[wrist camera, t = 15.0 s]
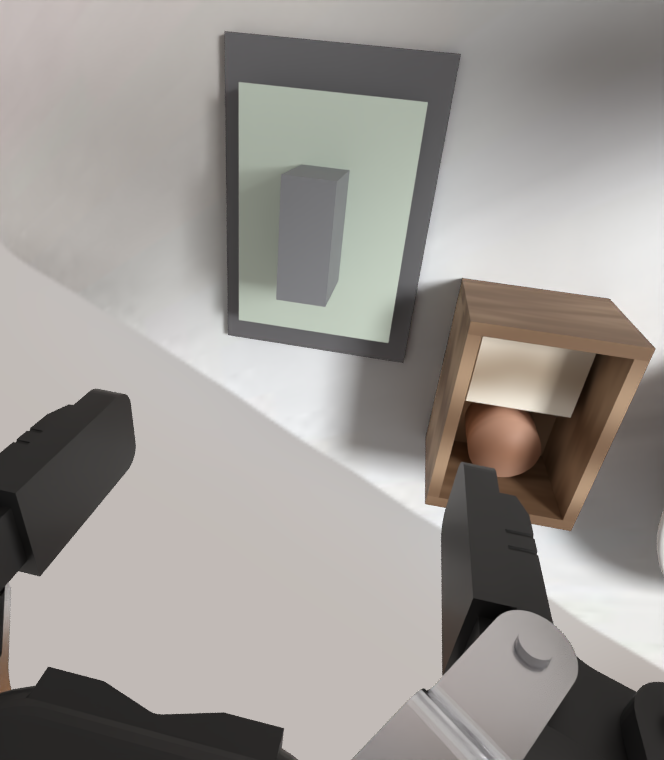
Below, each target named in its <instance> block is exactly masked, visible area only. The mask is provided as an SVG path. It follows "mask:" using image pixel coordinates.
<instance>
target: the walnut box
mask: <svg viewBox="0 0 664 760" xmlns="http://www.w3.org/2000/svg"><path fill="white" fill-rule="evenodd" d="M654 351H655V348H654V346H653V345H652V344H651V343H650V342H649V341H648V340H647V339H646V338H645V337H644V336H643V335H642V333H641V332H640V331H639V330H638V329H637V328H636V327H635V326H634V325H633V324H632V323H631V322H630V320H629V319H628V318H627V317H626V316H625V315H624V314H623V313H622V312H621V311H620V310H619V309H618V307H617V306H616V305H615V304H614V303H613V302H612V301H611V300H610V299H607V298H600V297H593V296H585V295H578V294H571V293H564V292H557V291H550V290H543V289H536V288H528V287H521V286H514V285H507V284H500V283H493V282H486V281H479V280H471V279H464V278H462V282H461V286H460V291H459V295H458V299H457V304H456V308H455V312H454V317H453V321H452V325H451V330H450V334H449V338H448V343H447V347H446V351H445V356H444V360H443V364H442V369H441V373H440V378H439V382H438V386H437V391H436V395H435V399H434V404H433V408H432V412H431V417H430V421H429V425H428V430H427V434H426V442H425V504H428V505H433V506H439V507H444V508H446V506H447V503H448V499H449V496H450V493H451V490H452V486H453V483H454V480H455V477H456V473H457V470H458V467H459V465H460V463H461V462H465V463H470V464H475V465H480V466H485V467H490V468H494V469H495V470H496V474H497V480H498V486H499V493H504V494H509V495H514V496H516V497H517V498H518V500H519V501H520V503H521V504H522V505H523V507H524V508H525V510H526V511H527V513H528V514H529V516H530V521H531V524H536V525H541V526H546V527H552V528H557V529H563V530H568V531H571V530H572V528H573V526H574V523H575V521H576V519H577V517H578V515H579V513H580V510H581V508H582V506H583V504H584V502H585V500H586V498H587V495H588V493H589V491H590V489H591V487H592V485H593V482H594V480H595V478H596V476H597V474H598V472H599V470H600V467H601V465H602V463H603V461H604V459H605V457H606V454H607V452H608V450H609V448H610V446H611V444H612V442H613V439H614V437H615V435H616V433H617V431H618V429H619V426H620V424H621V422H622V420H623V418H624V416H625V414H626V411H627V409H628V407H629V405H630V403H631V401H632V398H633V396H634V394H635V392H636V390H637V388H638V386H639V383H640V381H641V379H642V377H643V375H644V373H645V370H646V368H647V366H648V364H649V362H650V360H651V358H652V355H653V353H654Z"/></svg>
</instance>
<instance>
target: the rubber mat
mask: <svg viewBox="0 0 664 760" xmlns="http://www.w3.org/2000/svg"><path fill="white" fill-rule="evenodd" d="M460 55H461V54H454V53H444V52H433V51H423V50H413V49H402V48H392V47H382V46H371V45H361V44H351V43H340V42H330V41H320V40H309V39H299V38H289V37H278V36H268V35H258V34H247V33H237V32H227V31H225V108H226V188H227V268H228V335H231V336H238V337H244V338H250V339H257V340H263V341H269V342H276V343H282V344H288V345H294V346H301V347H307V348H313V349H320V350H326V351H332V352H339V353H345V354H351V355H357V356H364V357H370V358H376V359H383V360H389V361H395V362H402V363H403V362H404V357H405V351H406V346H407V340H408V335H409V330H410V324H411V319H412V313H413V308H414V303H415V297H416V292H417V287H418V281H419V276H420V270H421V265H422V260H423V254H424V249H425V243H426V238H427V233H428V227H429V222H430V216H431V211H432V206H433V200H434V195H435V189H436V184H437V179H438V173H439V168H440V163H441V157H442V152H443V146H444V141H445V136H446V130H447V125H448V119H449V114H450V109H451V103H452V98H453V92H454V87H455V82H456V76H457V71H458V66H459V60H460ZM239 82H243V83H253V84H262V85H272V86H281V87H290V88H300V89H309V90H318V91H328V92H337V93H346V94H356V95H365V96H374V97H384V98H393V99H403V100H412V101H421V102H428V105H427V111H426V117H425V123H424V130H423V136H422V142H421V148H420V154H419V160H418V166H417V172H416V178H415V184H414V190H413V196H412V202H411V208H410V214H409V221H408V227H407V233H406V239H405V245H404V251H403V257H402V263H401V269H400V275H399V281H398V287H397V293H396V299H395V305H394V312H393V318H392V324H391V330H390V336H389V342H388V343H384V342H378V341H372V340H365V339H359V338H352V337H346V336H339V335H333V334H327V333H320V332H314V331H307V330H301V329H294V328H288V327H281V326H275V325H269V324H262V323H256V322H249V321H243V320H239Z"/></svg>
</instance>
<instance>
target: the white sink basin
mask: <svg viewBox="0 0 664 760" xmlns="http://www.w3.org/2000/svg"><path fill="white" fill-rule="evenodd" d="M657 555H658V561H659V565H660V568H661V571H662V574H663V576H664V510H663V512H662V515H661V519H660V522H659V526H658V532H657Z"/></svg>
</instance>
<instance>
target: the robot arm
mask: <svg viewBox="0 0 664 760" xmlns="http://www.w3.org/2000/svg"><path fill="white" fill-rule="evenodd" d="M135 448H136V445H135V435H134V427H133V419H132V411H131V403H130V399H129V397H128V396H127V395H125V394H121V393H116V392H111V391H105V390H101V389H93V390H91V391H90V392H88V393H87V394H86V395H85V396H84V397H82V398H81V399H80V400H79V401H78V402H77V403H75V404H74V405H67V406H65V407H62V408H60V409H58V410H56V411H54V412H51V413H49V414H47V415H46V416H45V417H43V418H42V419H41V420H40V421H39V422H37V423H36V424H35V425H34V426H32V427H31V428H30V431H26V432H25V433H24V434H23V435H21V436H20V437H19V438H18V439H17V442H16V443H14V442H13V443H12V444H10V445H9V446H8V447H7V448H6V449H4V450H3V451H2V452H1V453H0V760H298V759H296V758H295V757H294V756H293V755H291V754H290V753H288V752H286V751H285V750H283V749H282V740H283V731H284V728H281V727H277V726H273V725H269V724H265V723H261V722H258V721H254V720H250V719H246V718H242V717H239V716H235V715H231V714H227V713H197V714H165V715H161V714H155V713H152V712H150V711H148V710H147V709H145V708H144V707H142V706H141V705H139V704H138V703H136V702H135V701H133V700H132V699H130V698H129V697H127V696H126V695H124V694H123V693H121V692H119V691H118V690H116V689H115V688H113V687H112V686H110V685H109V684H107V683H106V682H104V681H101V680H97V679H93V678H89V677H86V676H81V675H78V674H74V673H70V672H66V671H63V670H59V669H55V668H51V667H48V668H47V670H46V671H45V672H44V674H43V675H42V677H41V678H40V680H39V681H38V683H37V684H36V686H31V687H25V688H18V689H13V690H11V686H10V680H9V669H8V662H9V634H10V605H11V604H10V603H11V587H10V585H9V581H10V580H11V579H12V578H13V576H14V575H15V574H16V573H17V572H18V571H20V572H24V573H28V574H33V575H37V576H41V575H42V573H43V572H44V571H45V570H46V568H47V567H48V566H49V565H50V564H51V562H52V561H53V560H54V559H55V558H56V556H57V555H58V554H59V553H60V552H61V550H62V549H63V548H64V547H65V545H66V544H67V543H68V542H69V541H70V539H71V538H72V537H73V536H74V535H75V533H76V532H77V531H78V529H79V528H80V527H81V526H82V525H83V524H84V522H85V521H86V520H87V519H88V518H89V516H90V515H91V514H92V513H93V512H94V510H95V509H96V508H97V507H98V505H99V504H100V503H101V502H102V500H103V499H104V498H105V497H106V496H107V494H108V493H109V492H110V491H111V490H112V488H113V487H114V486H115V485H116V484H117V482H118V481H119V480H120V479H121V477H122V476H123V475H124V474H125V472H126V471H127V470H128V469H129V467H130V465H131V463H132V461H133V458H134V455H135ZM441 562H442V563H441V565H442V567H441V570H442V675H443V676H442V678H441V679H440V680H439V681H438V682H437V683H436V684H435V685H434V686H433V687H432V688H431V689H429V690H427V691H426V690H425V689H421V690H419V691H418V692H416V693H415V694H414V695H413V696H412V697H411V698H410V699H409V700H408V701H407V702H406V703H405V704H404V705H403V706H402V707H401V708H400V709H399V710H398V711H397V712H396V713H395V714H394V715H393V716H392V717H391V718H390V720H389V721H388V722H387V723H386V724H385V725H384V726H383V727H382V728H381V729H380V730H379V731H378V732H377V733H376V734H375V735H374V736H373V737H372V738H371V740H370V741H369V742H368V743H367V744H366V745H365V746H364V747H363V748H362V749H361V750H360V751H359V752H358V753H357V754H356V755H355V756H354V757H353V759H352V760H664V683H663V682H652V683H648V684H645V685H643V686H642V687H641V688H640V689H639V690H638V691H637V692H636V691H634V690H632V689H630V688H628V687H626V686H624V685H622V684H620V683H619V682H617V681H615V680H613V679H611V678H609V677H607V676H605V675H604V674H602V673H600V672H597V671H596V670H594V669H593V668H591V667H589V666H588V665H587V664H585V663H584V662H583V661H581V660H580V659H579V658H578V657H577V656H576V654H575V651H574V649H573V647H572V645H571V643H570V642H569V641H568V639H567V638H566V636H565V635H564V634H563V633H562V632H561V631H560V630H559V629H558V628H557V627H556V626H555V625H554V624H553V621H552V617H551V612H550V608H549V603H548V599H547V594H546V590H545V585H544V580H543V576H542V571H541V567H540V562H539V558H538V555H537V548H536V544H535V539H533V530H532V525H531V521H530V516H529V514H528V513H527V511H526V510H525V508H524V507H523V505H522V504H521V503H520V501H519V500H518V498H517V497H516V496H514V495H509V494H504V493H499V486H498V480H497V474H496V470H495V469H494V468H490V467H485V466H480V465H475V464H470V463H465V462H461V463H460V465H459V467H458V470H457V473H456V477H455V480H454V483H453V486H452V490H451V493H450V496H449V499H448V503H447V506H446V509H445V513H444V518H443V524H442V532H441Z"/></svg>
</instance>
